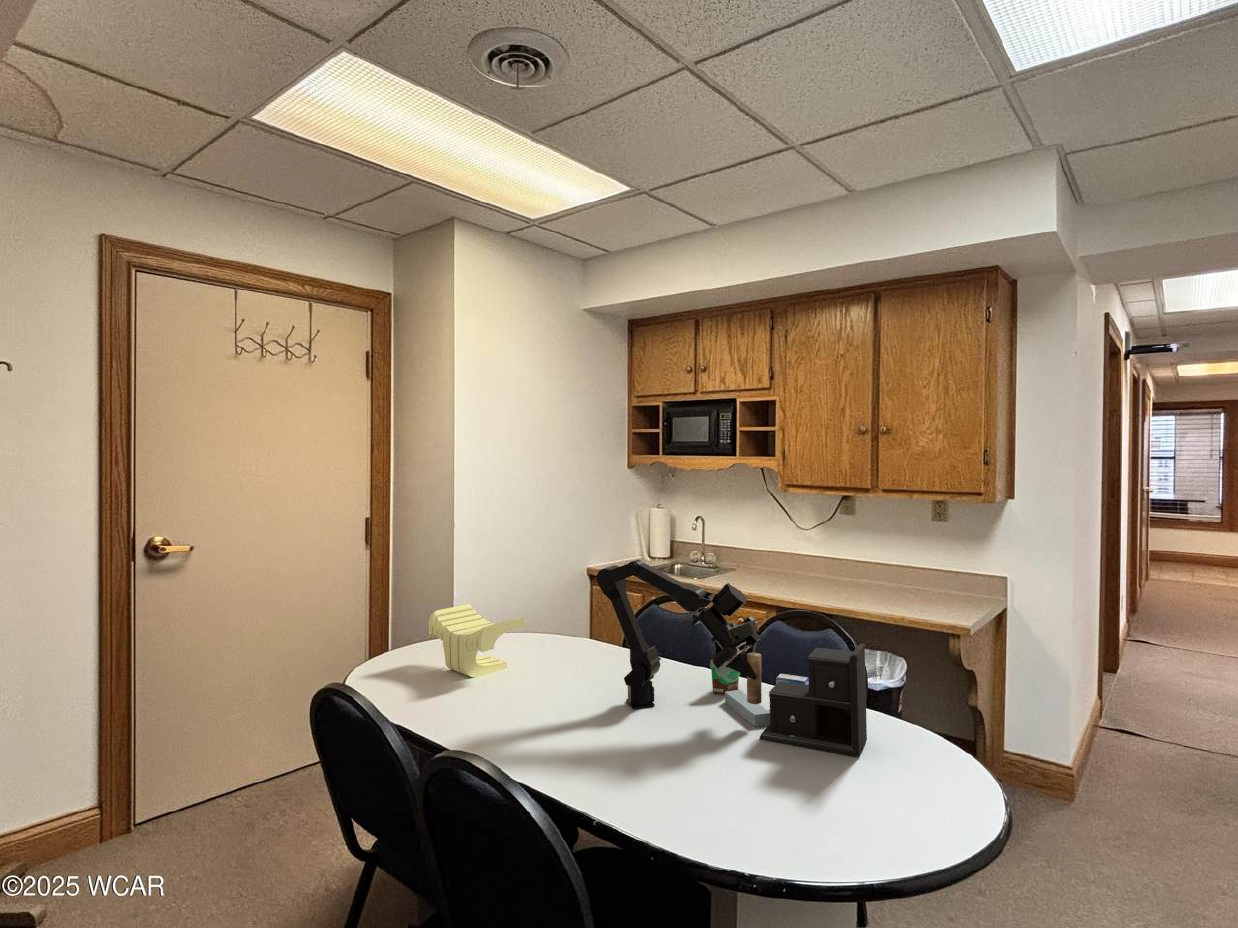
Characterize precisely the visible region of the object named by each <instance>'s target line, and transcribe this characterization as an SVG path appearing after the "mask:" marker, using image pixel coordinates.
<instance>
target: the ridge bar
mask: <svg viewBox="0 0 1238 928" xmlns="http://www.w3.org/2000/svg"><path fill="white" fill-rule="evenodd" d="M724 702H725V704H726V705H727V706H729V707H730V708H731V709H732V710H734V711H735V712H737V713H738V714H739V715H740V716H741V717H742V718H744V719H745V720H746V721H747V722H749V724H751V725H752V726H753V727H755V728H756V727H762V726H768V725H769V724H770V710H768V709H767V708H765V707H763V705H761V703H760V704H750V703H748V702H747V693H745V692H744V691H742V690H741V689H738V690H735V691H726V692H725V695H724Z"/></svg>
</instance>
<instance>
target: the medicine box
mask: <svg viewBox="0 0 1238 928" xmlns="http://www.w3.org/2000/svg"><path fill="white" fill-rule="evenodd" d="M775 680H776V682H775V683H776V684H777V683H778V682H779V681H782V682H790V683H798V684H805V685H809V676H808V677H807V676H801V675H800V676H799V675H793V674H787V673H779V675H778V676H777V677H776V679H775ZM776 684H775V685H776Z"/></svg>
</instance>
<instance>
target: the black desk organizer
mask: <svg viewBox="0 0 1238 928" xmlns="http://www.w3.org/2000/svg"><path fill="white" fill-rule="evenodd" d="M865 650H866V645H865V643H860V644H858V645H857V646H856V647H855V649H854V650H845V649H844V650H841V649H834V648H823V647H815V649H813V650H812V652H811V653H809V655H808V656H807V663H808V665H807V666H808V669H807V670H808V672H807V673H808V678H809V685H805V684H798V683H790V682H782V681H779V682H778V683H777V684H775V685H774V686H773V687H772V688H771V689H770V690H769V692H768V696H769V712H770V724H769V725H766V727H765V729H763V731H762V732H761V733H760V735H759V740H761V741H766V742H771V743H778V744H784V745H789V746H795V747H800V748H806V749H812V750H817V751H823V752H829V753H835V754H839V755H840V754H841V755H845V756H851V757H858V758H859V757H860V756H861V754H862V751H864V748H865V745H866V742H867V740H868V737H867V736H868V734H867V733H868V731H867V729H868V728H867V726H868V725H867V692H866V691H867V690H866V688H867V687H866V686H867V685H866V651H865Z"/></svg>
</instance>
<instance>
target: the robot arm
mask: <svg viewBox="0 0 1238 928" xmlns="http://www.w3.org/2000/svg"><path fill="white" fill-rule="evenodd" d="M630 577H635V578H637V579H639V580H641V581H642V582H643V583H644V582H645V584H648V585H650V586H651V587H653V588H655V589H657V590H658V591H661V592H662V593H665V594H666V595H668V596H669V597H671V598H672V599H673V600H674V602H675V603H676V604H677V605H678V606H680V607H681V608H682V609H683V610H685V611H686V612H687V613H694V612H697V611H698V610H700V609H701V610H700V612H699V613H694V614H692V621H691V624H692V626H695V625H697V624H701V625H702V626H703V627H704V628H705V630H706V631H707V632H708V633H709V635H710V636H711V638H710V641H711V642H712V643H715V642H716V643H717V644H718V646H719V647H720V648H721V650H720V651H718V653H717V654H716V655H714V657H712V660H713V664H714V666H715V667H716V668H717V669H719V668H721V667H722V666H723V664H724V663H725V662H726V661H727V662H728V664H727V665H726V666H725V667H726V668H727V667H729V668H731V669H733V670H735V671H737V672H739V674H742V675H744V676H745V677H746V678H747V677H749V678H751V679H753V680H756V679H757V675H756V674H755V672H754V670H753V669H752V667H751V666H750V665H749V663H748V662H747V654H748V653H756V647H757V644H758V642H759V641H760V640H761V639H762V637H761V636H760V635H759V634H758V633H759V632H760V630H759V627H758V625H759V623H760V622H758V621H757V620H756V618H754V617H753V616H751V615H750V616H748V617H746V618H744V619H743V623H740V624H738V625H737V623H735V622H732V621H731V622H729V621H728V619H726V616H727V617H733V615H735V613H736V612H737V611H738V610H740V609H741V608H742V607H743V606H744V605H745V604H746V603H747V598H746V596H745V594H744V593H743V592H742V590H740V589H738V588H737V587H735V586H733V585H731V584H730V582H727V583H726V584H725V585H723V587H722V588H721V589H720V590H719V591H718V592H717V593H714V592H709V591H707V590H706V589H705V588H703V587H701V586H699V585H695V584H692V583H689V582H682V581H679V580H677V579H675V578H673V577H672V576H669V575H668V574H665V573H664V572H662V571H660V570H658V569H656V568H654V567H652V566H650V565H649V564H647V563H645V562H644V561H643V560H641V559H634V560H632V561H629V562H628V563H625V564H622V565H620V566H619V565H615V564H613V565H609V566H607V567H604V568H601V569H600V570H598V572H597V573H596V576H595V581H596V584H597V585H598V587H599V589H600V591H601V592H602V594H603V595H604V596H606V598H607V599H608V600H609V601H610V603H611V605H612V608H613V610H614V613H615V616H616V618H617V620H618V621H617V622H618V623H619V625H620V628H621V630H622V632H623V635H624V638H625V640H626V643H627V646H628V648H629V663H630V668H631V670H630V671H629V672H628V673H627V674H626V675H625V676H624V677H623V680H624V683H625V686H627V699H625V702H626V703H627V705H628V706H629V707H630V708H631V709H634V710H635V709H641V708H643V709H645V708H652V707H655V706H656V705H655V703H654V702H655V687H654V686H653V681H651V680H652V679H654V678H655V675H656V674H657V673H658V672H659V670H660V668H661V660H662V657H660V655H659V654H658V650H657V647H656V646H655V645H653V646H652V647H651V646H650V645H649V644H648V643H647V642H646V640H645V637H644V636H643V635H644V634H643V632H642V630H641V628H640V625H639V623H638V620H637V617H636V615H635V612H634V610H633V608H632V605H631V603H630V600H629V597H628V595H627V594H628V593H627V579H628V578H630ZM711 604H712V605H711ZM710 605H711V606H710ZM708 606H710V607H708ZM762 675H764V671H763V668H762V667H761V676H762Z"/></svg>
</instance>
